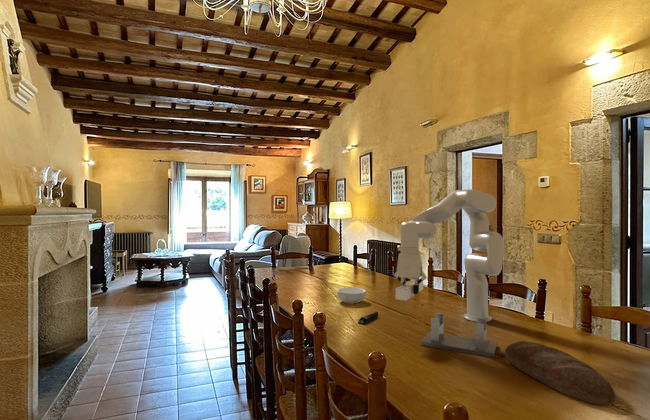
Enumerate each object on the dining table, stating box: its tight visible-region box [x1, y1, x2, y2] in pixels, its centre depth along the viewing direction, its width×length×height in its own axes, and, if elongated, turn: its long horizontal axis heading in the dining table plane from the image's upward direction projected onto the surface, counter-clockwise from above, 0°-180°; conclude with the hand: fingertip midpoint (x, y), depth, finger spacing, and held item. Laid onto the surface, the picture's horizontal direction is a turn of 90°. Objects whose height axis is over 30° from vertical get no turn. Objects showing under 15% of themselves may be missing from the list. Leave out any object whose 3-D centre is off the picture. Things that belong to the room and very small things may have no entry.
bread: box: [504, 340, 616, 406], centre depth 114 cm, size 16×36×8 cm, turn 13°
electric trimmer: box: [357, 311, 379, 325], centre depth 175 cm, size 4×16×3 cm, turn 143°
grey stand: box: [420, 312, 498, 359], centre depth 141 cm, size 13×26×10 cm, turn 61°
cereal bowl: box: [336, 287, 367, 305], centre depth 211 cm, size 17×17×7 cm
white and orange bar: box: [395, 278, 424, 301], centre depth 157 cm, size 24×5×5 cm, turn 149°
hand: (410, 292), depth 157 cm, fingers closed on white and orange bar, 4 cm apart
